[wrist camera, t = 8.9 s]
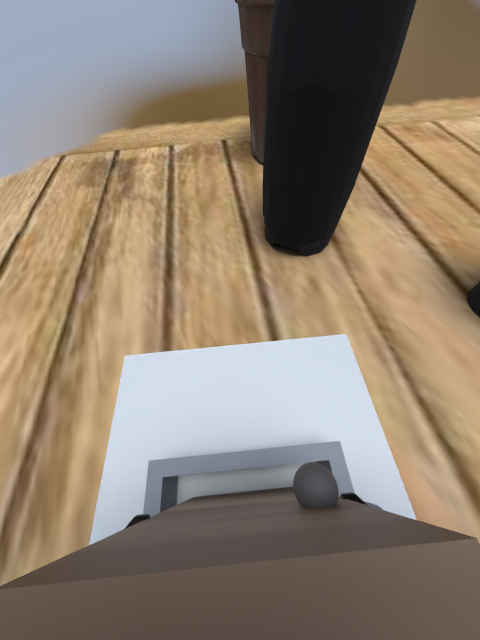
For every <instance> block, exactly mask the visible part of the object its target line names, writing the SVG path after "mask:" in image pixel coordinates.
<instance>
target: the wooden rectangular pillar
mask: <svg viewBox="0 0 480 640" xmlns="http://www.w3.org/2000/svg"><path fill="white" fill-rule="evenodd" d="M0 640H480V544H479V542H478V540H477V538H474V537H471V536H467V535H464V534H461V533H457V532H454V531H451V530H448V529H444V528H441V527H438V526H434V525H431V524H428V523H424V522H421V521H418V520H414V519H411V518H408V517H404V516H401V515H398V514H394V513H391V512H388V511H385V510H381V509H378V508H375V507H371V506H368V505H365V504H361V503H358V502H355V501H351V500H348V499H342V498H340V497H339V489H338V485H337V482H336V479H335V477H334V476H333V474H332V473H331V472H330V471H329V470H328V469H327V468H326V467H325V466H323V465H321V464H319V463H315V462H309V463H305V464H303V465H302V466H300V467H299V468H298V470H297V471H296V473H295V476H294V480H293V487H284V488H275V489H265V490H256V491H246V492H236V493H227V494H217V495H207V496H198V497H193V498H191V499H189V500H186V501H184V502H182V503H180V504H178V505H176V506H173V507H171V508H169V509H167V510H165V511H163V512H160V513H158V514H156V515H154V516H152V517H151V518H149V519H147V520H144V521H141V522H139V523H137V524H134V525H132V526H130V527H128V528H126V529H123V530H121V531H119V532H117V533H115V534H113V535H110V536H108V537H106V538H104V539H102V540H100V541H97V542H95V543H93V544H91V545H89V546H87V547H84V548H82V549H80V550H78V551H76V552H74V553H71V554H69V555H67V556H65V557H63V558H61V559H58V560H56V561H54V562H52V563H50V564H48V565H45V566H43V567H41V568H39V569H37V570H35V571H32V572H30V573H28V574H26V575H24V576H22V577H19V578H17V579H15V580H13V581H11V582H8V583H6V584H4V585H2V586H0Z"/></svg>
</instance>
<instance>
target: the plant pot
mask: <svg viewBox="0 0 480 640" xmlns="http://www.w3.org/2000/svg"><path fill="white" fill-rule="evenodd" d="M235 2H236V3H238V8H239V17H240V29H241V41H242V47H243V49H244V50H245V60H246V73H247V86H248V99H249V113H250V127H251V144H252V154H253V156H256V157H257V159H258V161H259V162H261V163H263V164H264V139H265V111H266V83H267V67H268V58H269V49H270V39H271V30H272V21H273V11H274V2H275V0H235Z"/></svg>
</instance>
